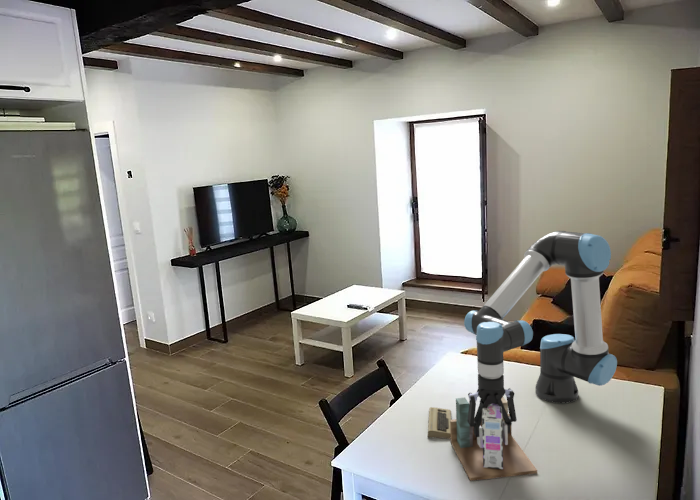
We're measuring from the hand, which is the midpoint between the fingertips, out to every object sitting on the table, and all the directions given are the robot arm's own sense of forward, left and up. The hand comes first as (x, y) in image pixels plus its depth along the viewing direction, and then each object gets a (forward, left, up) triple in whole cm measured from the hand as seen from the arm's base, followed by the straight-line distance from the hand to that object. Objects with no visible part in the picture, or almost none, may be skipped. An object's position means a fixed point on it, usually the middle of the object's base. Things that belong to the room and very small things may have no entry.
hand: (492, 443), depth 154 cm
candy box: (0, +1, -4) cm, 4 cm away
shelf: (0, 0, -4) cm, 5 cm away
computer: (+11, -21, -5) cm, 24 cm away
